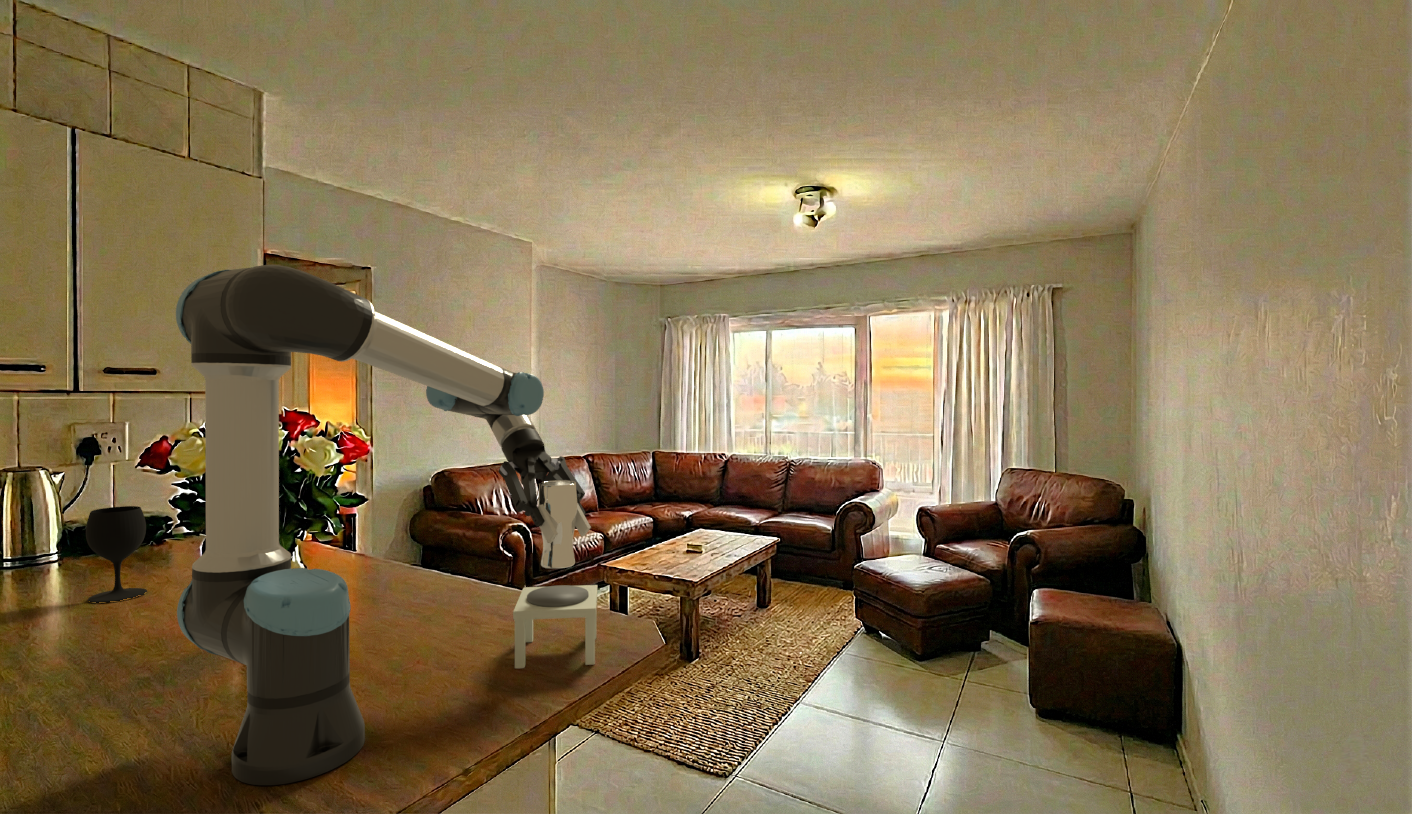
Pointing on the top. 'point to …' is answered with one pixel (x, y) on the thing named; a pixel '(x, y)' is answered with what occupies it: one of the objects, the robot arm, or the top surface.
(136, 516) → the wine glass
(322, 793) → the top surface
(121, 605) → the top surface
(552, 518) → the beer glass
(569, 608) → the stool
